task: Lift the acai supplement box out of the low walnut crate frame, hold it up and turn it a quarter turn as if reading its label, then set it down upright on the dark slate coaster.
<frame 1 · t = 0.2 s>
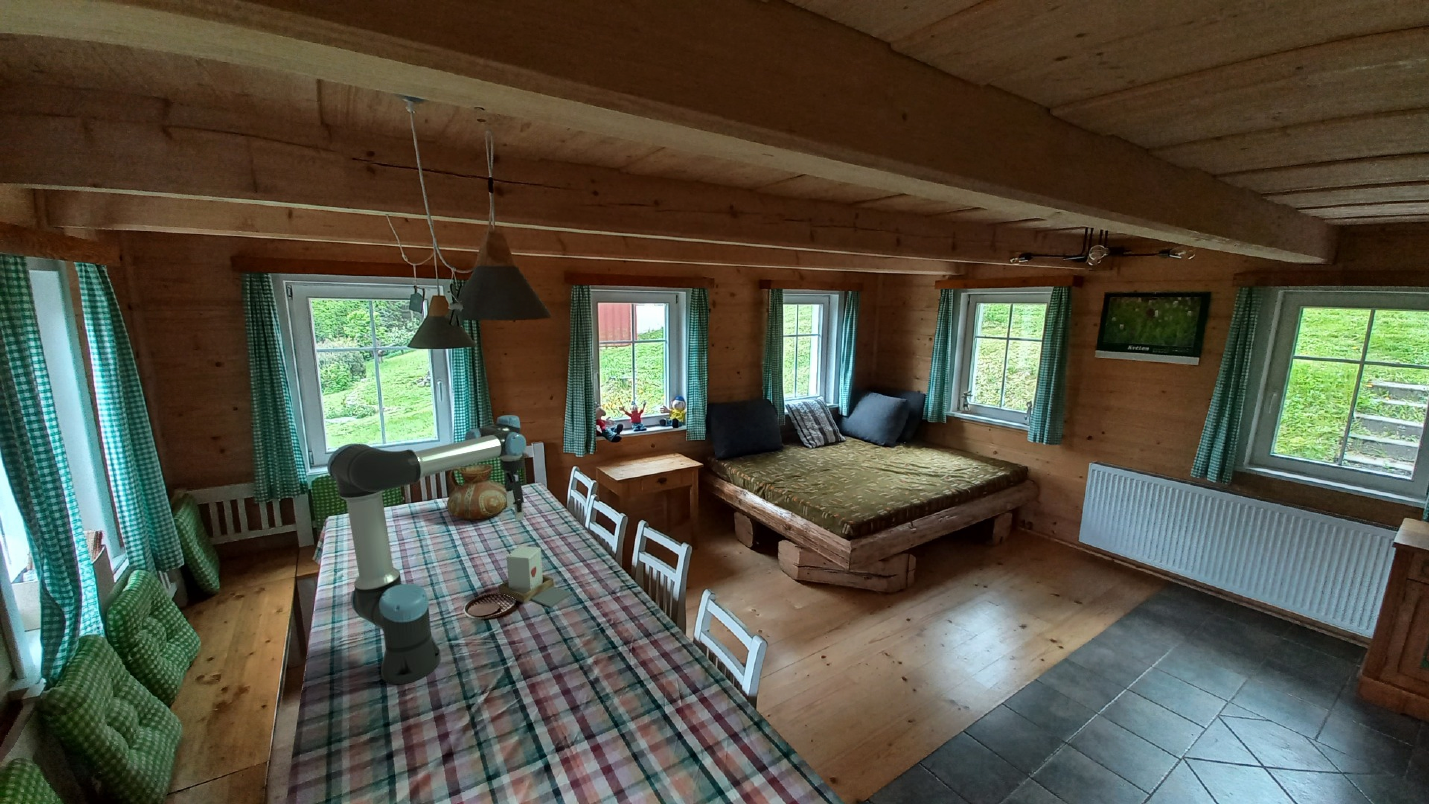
hand: (515, 513, 198), 27 cm above the table, fingers open, 13 cm apart
jug: (482, 513, 270), on the table
coaster: (551, 597, 193), on the table
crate: (526, 589, 198), on the table
supplement box: (526, 590, 198), resting in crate
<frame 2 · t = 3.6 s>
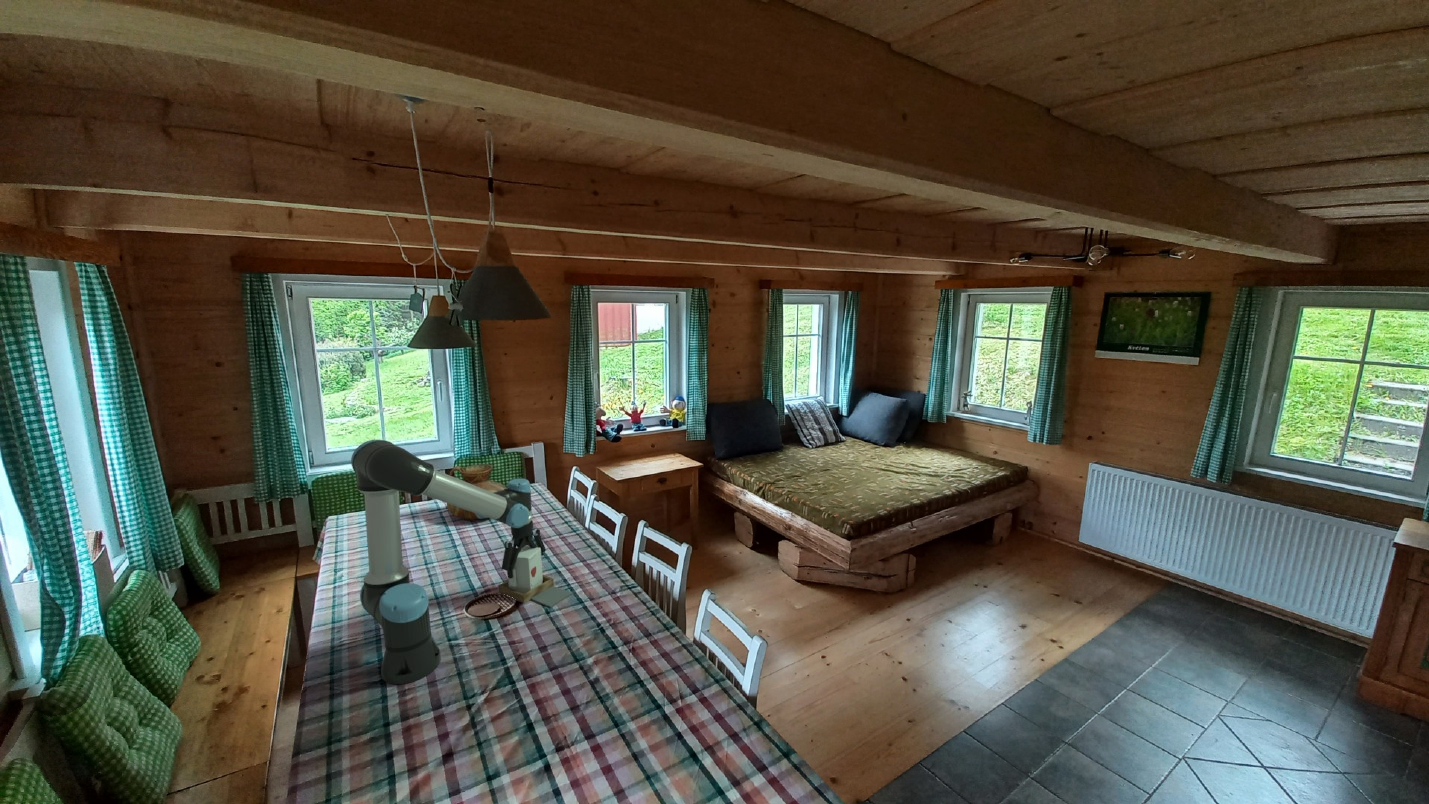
hand: (525, 578, 198), 4 cm above the table, fingers closed on supplement box, 10 cm apart
supplement box: (526, 590, 198), resting in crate, touching gripper
everything else where it was.
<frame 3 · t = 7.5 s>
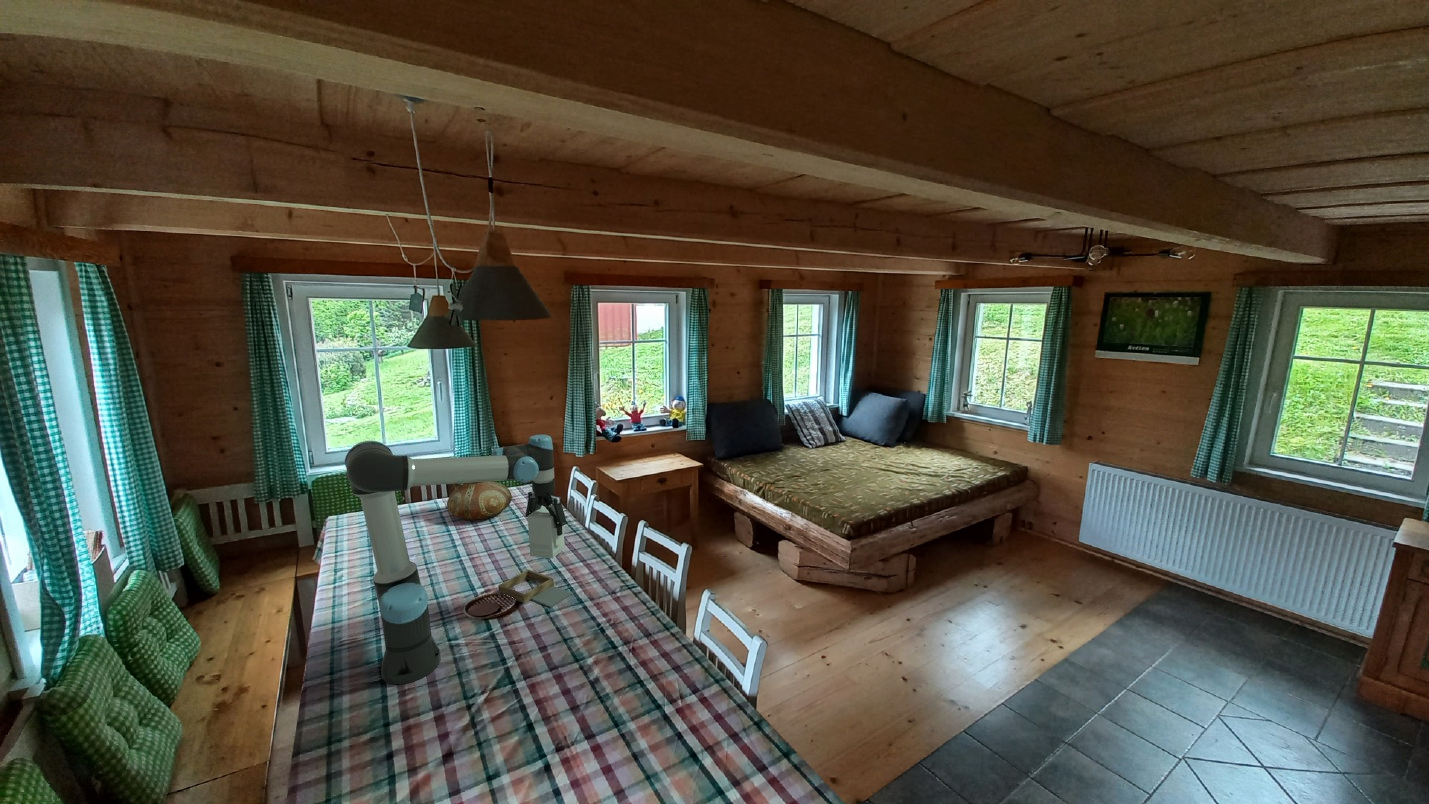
hand: (547, 540, 189), 22 cm above the table, fingers closed on supplement box, 10 cm apart
supplement box: (547, 552, 190), point 17 cm above the table, touching gripper
everything else where it was.
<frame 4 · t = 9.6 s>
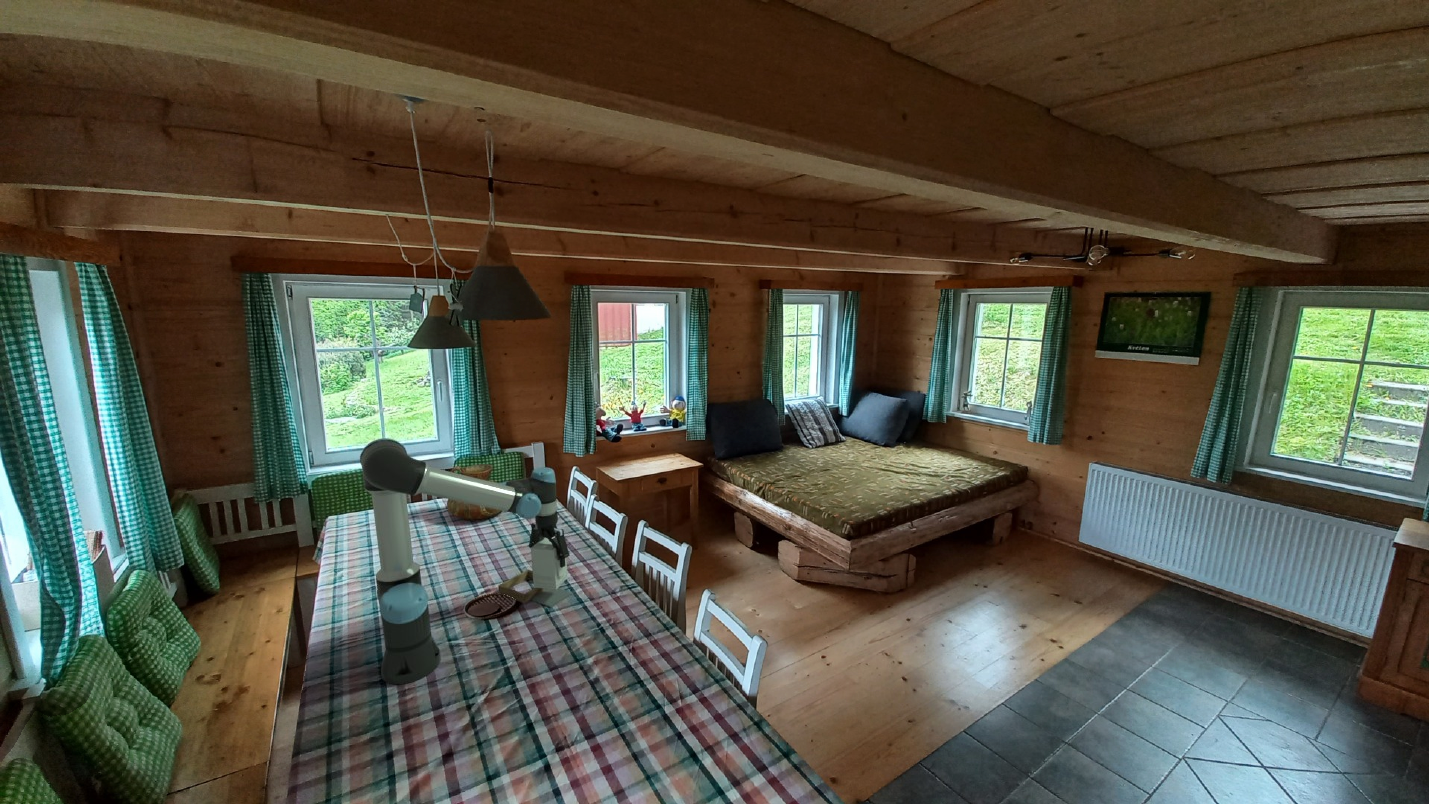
hand: (550, 570, 191), 10 cm above the table, fingers closed on supplement box, 10 cm apart
supplement box: (550, 583, 192), point 5 cm above the table, touching gripper
everything else where it was.
when the fingers open (7 cm above the table, at t = 11.5 s): supplement box stays where it is, resting on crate.
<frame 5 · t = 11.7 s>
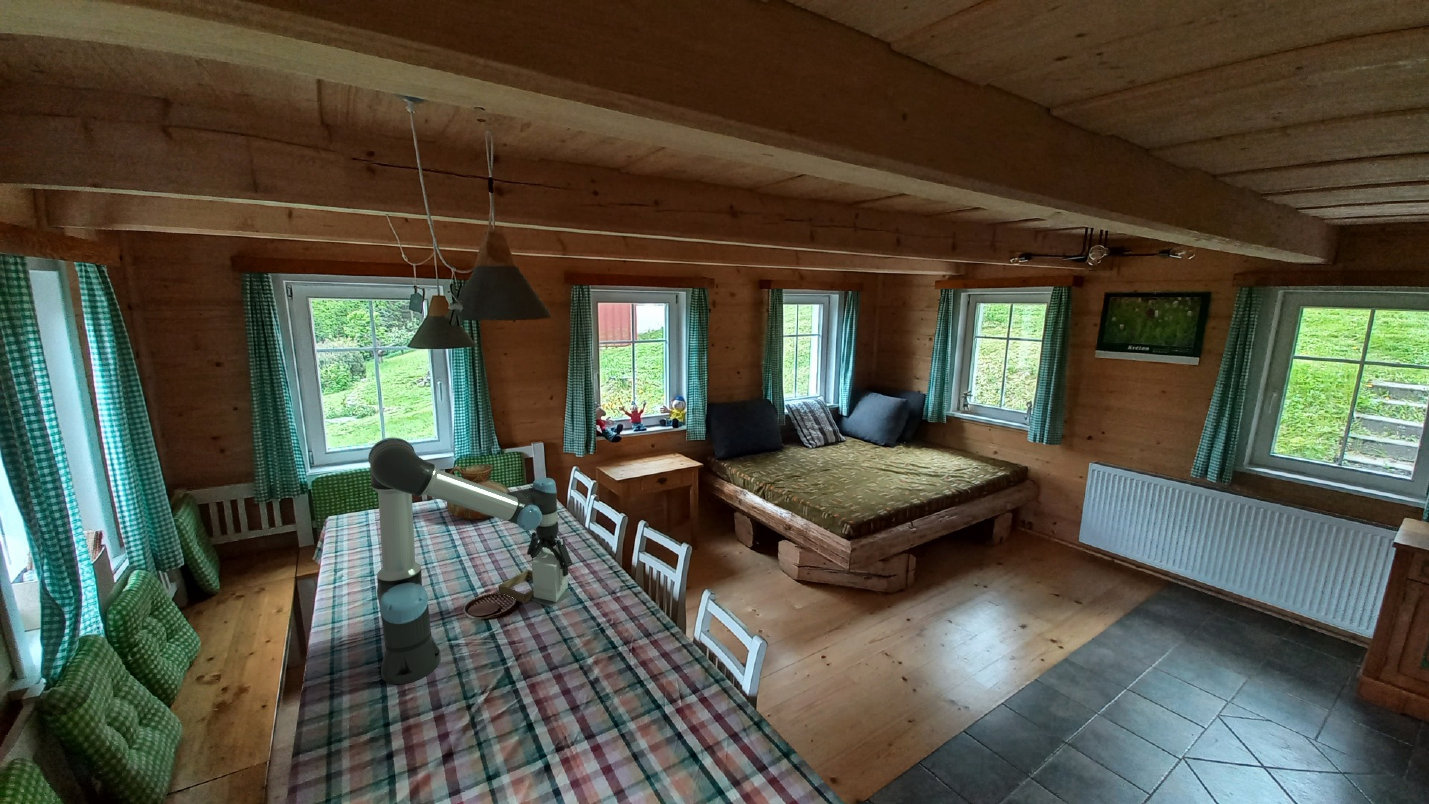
hand: (550, 578, 192), 7 cm above the table, fingers open, 13 cm apart
supplement box: (551, 592, 193), point 2 cm above the table, touching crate, gripper
everything else where it was.
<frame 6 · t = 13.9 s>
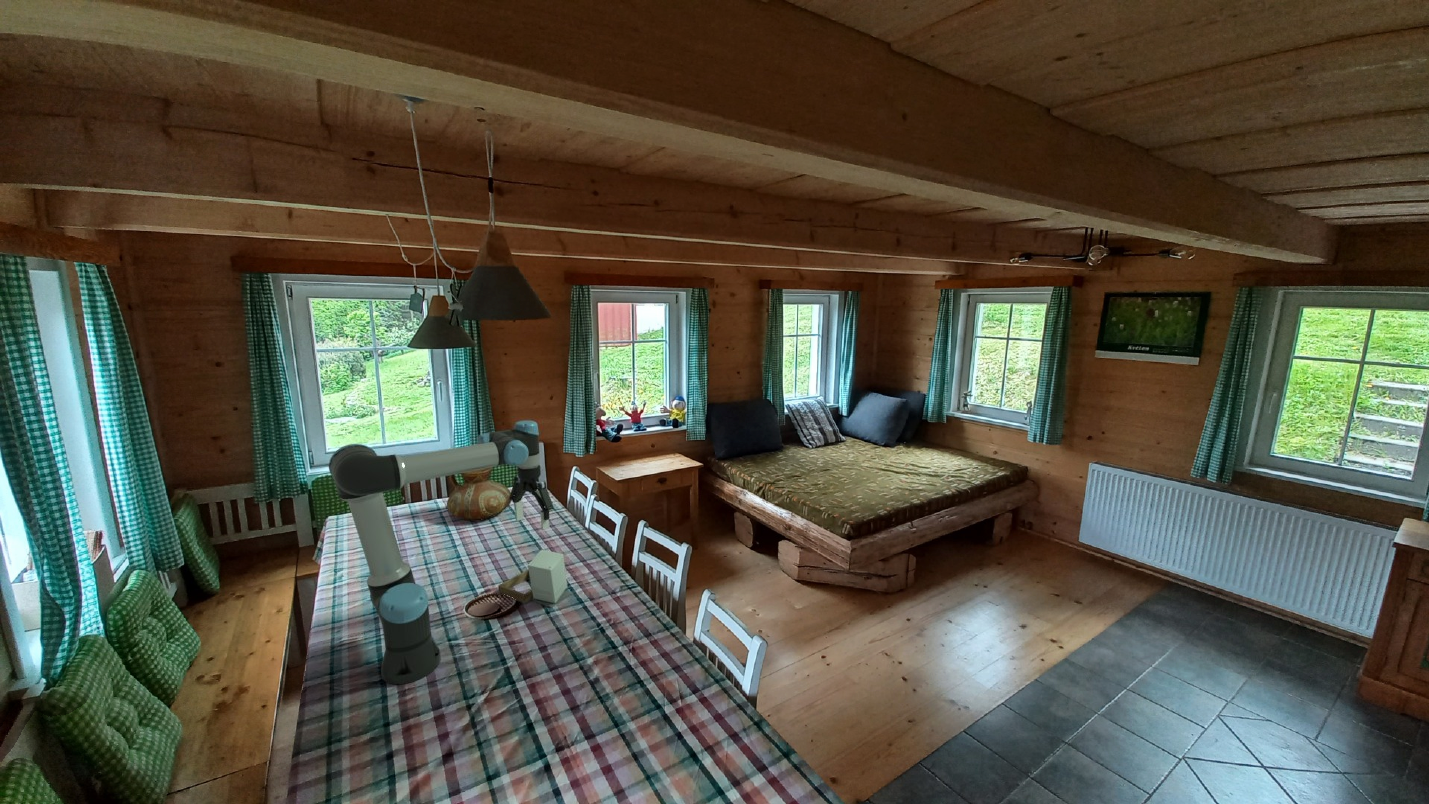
hand: (532, 523, 189), 27 cm above the table, fingers open, 13 cm apart
supplement box: (550, 592, 193), point 2 cm above the table, touching coaster, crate
everything else where it was.
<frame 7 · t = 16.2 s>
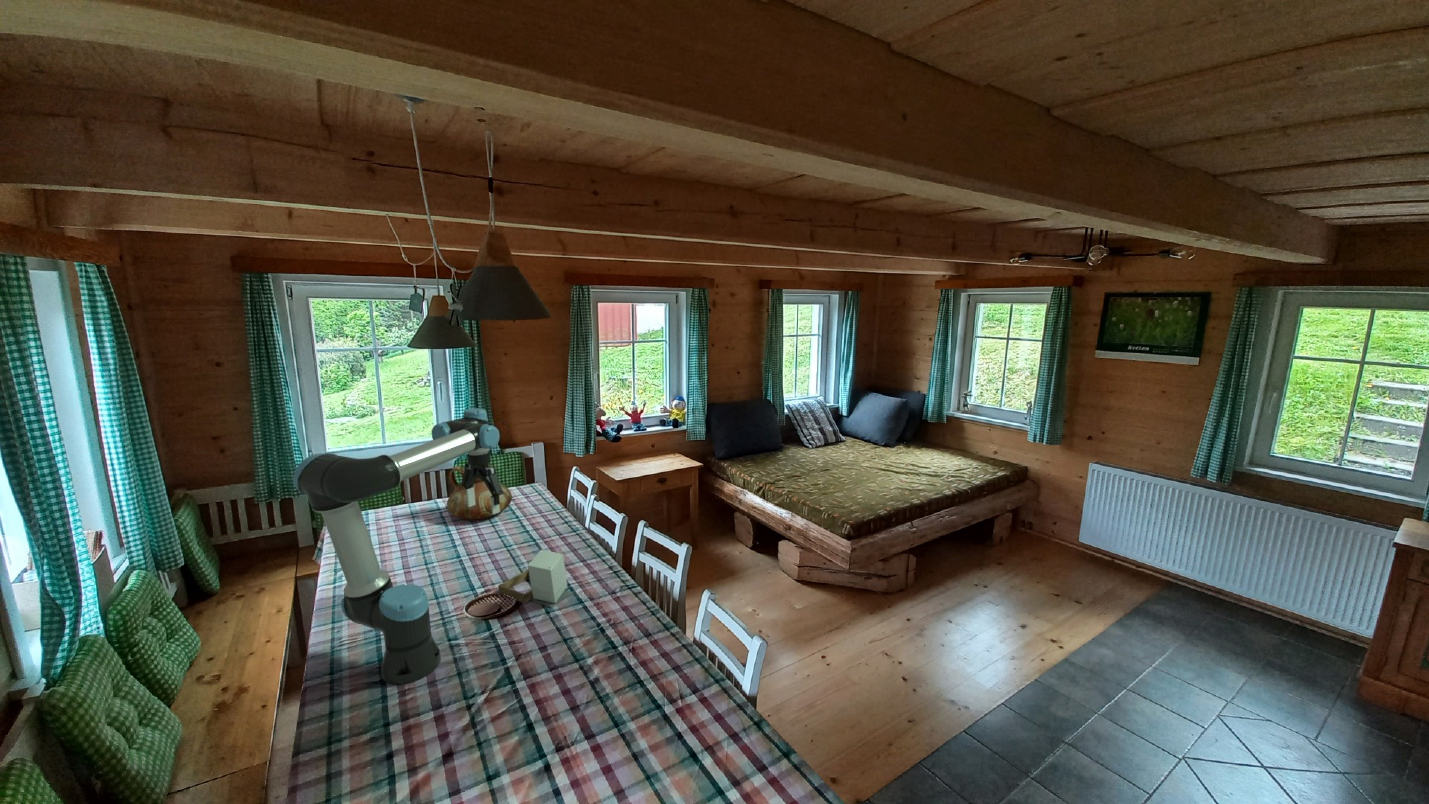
hand: (483, 509, 194), 31 cm above the table, fingers open, 13 cm apart
nothing on the table moved.
at the end: supplement box inside the target area on the coaster (0.3 cm from its centre), point 1.8 cm above the coaster's base; supplement box tilted 14°; the gripper is holding nothing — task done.
